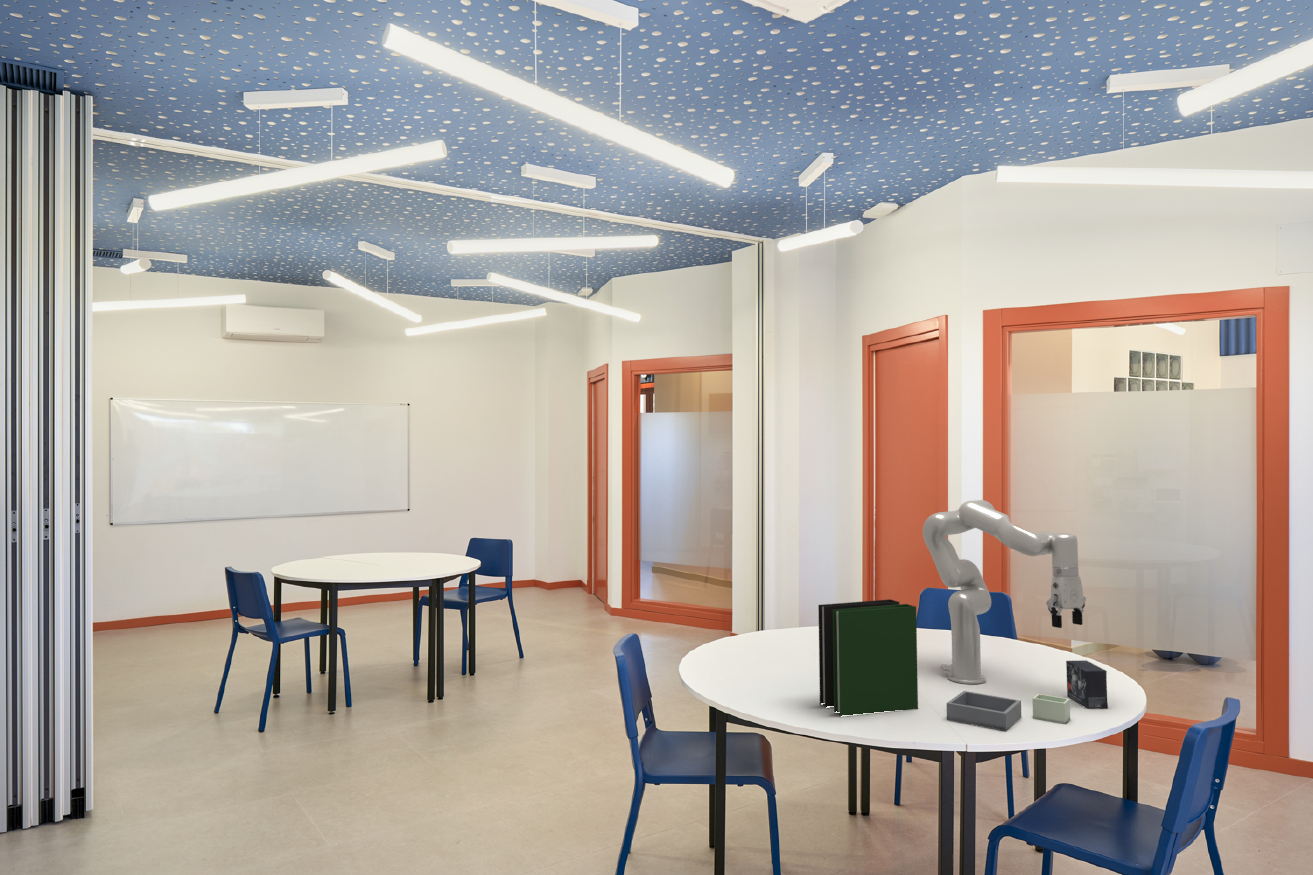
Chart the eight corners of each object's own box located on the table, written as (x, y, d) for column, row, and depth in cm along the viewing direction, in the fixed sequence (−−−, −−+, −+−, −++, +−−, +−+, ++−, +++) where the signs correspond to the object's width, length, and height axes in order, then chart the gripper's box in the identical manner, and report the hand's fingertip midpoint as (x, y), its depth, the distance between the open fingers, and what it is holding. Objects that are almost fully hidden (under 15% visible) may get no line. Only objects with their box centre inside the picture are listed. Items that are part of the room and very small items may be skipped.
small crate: (1032, 718, 242) (1032, 698, 242) (1038, 713, 246) (1037, 693, 247) (1065, 724, 236) (1065, 703, 236) (1070, 718, 241) (1069, 698, 241)
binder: (841, 717, 244) (840, 612, 245) (817, 703, 258) (816, 604, 259) (918, 708, 252) (916, 606, 253) (890, 695, 266) (889, 598, 267)
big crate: (946, 719, 241) (946, 702, 241) (964, 706, 254) (964, 690, 254) (1006, 731, 230) (1005, 713, 231) (1021, 717, 243) (1021, 700, 243)
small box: (1066, 696, 263) (1065, 659, 264) (1087, 696, 263) (1086, 659, 264) (1086, 708, 250) (1085, 670, 251) (1108, 708, 250) (1107, 670, 250)
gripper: (1057, 575, 251) (1059, 630, 251) (1093, 571, 259) (1095, 625, 258) (1036, 572, 258) (1038, 626, 257) (1073, 569, 266) (1074, 621, 265)
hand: (1067, 625), depth 258 cm, fingers open, 9 cm apart
